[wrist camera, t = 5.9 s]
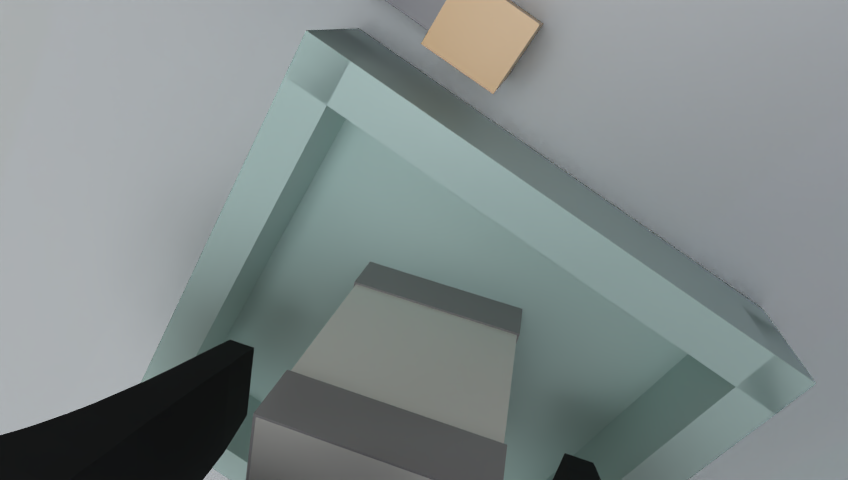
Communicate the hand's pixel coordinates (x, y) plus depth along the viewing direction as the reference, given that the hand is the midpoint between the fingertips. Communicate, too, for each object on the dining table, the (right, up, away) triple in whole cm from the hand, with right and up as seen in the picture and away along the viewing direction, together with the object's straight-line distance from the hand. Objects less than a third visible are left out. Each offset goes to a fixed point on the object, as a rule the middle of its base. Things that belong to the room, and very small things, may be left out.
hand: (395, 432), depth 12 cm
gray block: (+1, +1, +3) cm, 3 cm away
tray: (+1, +2, +4) cm, 4 cm away
